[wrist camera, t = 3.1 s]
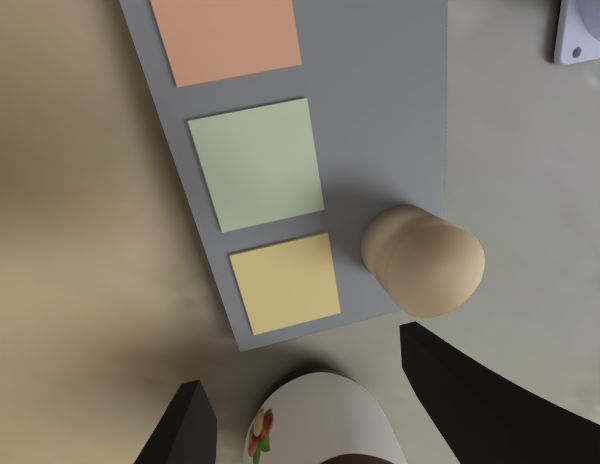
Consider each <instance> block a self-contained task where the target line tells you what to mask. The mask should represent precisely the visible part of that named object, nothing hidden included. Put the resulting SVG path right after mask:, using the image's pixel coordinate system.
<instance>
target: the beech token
mask: <svg viewBox="0 0 600 464" xmlns="http://www.w3.org/2000/svg"><path fill="white" fill-rule="evenodd" d="M360 248H361V257H362V260H363V262H364V264H365V266H366V267H367V268H368V269H369V271H370V272H371V273H372V274H373V276H374V277H375V278H376V279H377V281H378V282H379V283H380V284H381V286H382V287H383V288H384V289H385V291H386V292H387V293H388V294H389V296H390V297H391V298H392V299H393V301H394V302H395V303H396V304H397V306H398V307H399V308H400V309H401V310H402V311H404V312H405V313H407V314H409V315H411V316H415V317H420V318H430V317H436V316H440V315H443V314H445V313H448V312H450V311H452V310H454V309H455V308H457V307H458V306H460V305H461V304H462V303H463V302H465V301H466V300H467V299H468V298H469V297H470V296H471V294H472V293H473V292H474V290H475V289H476V287H477V286H478V284H479V282H480V280H481V278H482V275H483V271H484V266H485V257H484V251H483V248H482V246H481V244H480V243H479V241H478V240H477V239H476V238H475V237H474V236H473V235H471V234H470V233H468V232H466V231H464V230H462V229H460V228H458V227H456V226H454V225H453V224H451V223H449V222H447V221H445V220H443V219H441V218H439V217H437V216H435V215H433V214H431V213H429V212H427V211H425V210H423V209H421V208H419V207H417V206H413V205H398V206H394V207H391V208H388V209H386V210H384V211H383V212H381V213H380V214H378V215H377V216H376V217H375V218H374V219H373V220H372V221H371V222H370V223H369V225H368V226H367V228H366V230H365V232H364V234H363V237H362V240H361V247H360Z"/></svg>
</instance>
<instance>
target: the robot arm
mask: <svg viewBox="0 0 600 464" xmlns="http://www.w3.org/2000/svg"><path fill="white" fill-rule="evenodd" d="M573 51H574V54H573V55H572V53H573ZM598 58H600V0H562V1H561V9H560V16H559V24H558V31H557V38H556V46H555V53H554V62H555V64H556V65H558V66H562V65H567V64H572V63H577V62H583V61H588V60H593V59H598ZM400 341H401V357H402V368H403V370H404V372H405V374H406V376H407V378H408V380H409V382H410V384H411V386H412V388H413V390H414V392H415V394H416V396H417V397H418V399H419V400H420V402H421V404H422V405H423V407H424V408H425V410H426V411H427V413H428V414H429V416H430V418H431V419H432V421H433V422H434V424H435V425H436V427H437V428H438V430H439V431H440V433H441V434H442V436H443V437H444V439H445V441H446V442H447V444H448V445H449V447H450V448H451V450H452V451H453V453H454V454H455V456H456V457H457V459H458V460H459V462H460V464H600V425H599V424H597V423H594V422H592V421H590V420H588V419H585V418H583V417H581V416H579V415H576V414H574V413H572V412H570V411H568V410H566V409H563V408H561V407H559V406H557V405H555V404H553V403H551V402H549V401H547V400H545V399H543V398H541V397H539V396H537V395H535V394H533V393H531V392H529V391H527V390H525V389H523V388H522V387H520V386H518V385H516V384H514V383H512V382H511V381H509V380H507V379H505V378H504V377H502V376H500V375H498V374H497V373H495V372H493V371H491V370H490V369H488V368H486V367H485V366H483V365H481V364H480V363H478V362H477V361H475V360H473V359H472V358H470V357H469V356H467V355H465V354H464V353H462V352H461V351H459V350H458V349H456V348H455V347H453V346H452V345H450V344H449V343H447V342H446V341H444V340H443V339H441V338H440V337H438V336H437V335H435V334H434V333H432V332H431V331H429V330H428V329H426V328H425V327H423V326H422V325H420V324H419V323H417V322H416V321H415V322H411V323H407V324H404V325H400ZM216 442H217V419H216V416H215V414H214V412H213V410H212V407H211V405H210V403H209V400H208V398H207V396H206V393H205V391H204V389H203V386H202V384H201V382H200V380H195V381H192V382H188V383H184V384H181V386H180V387H179V389H178V390H177V392H176V394H175V396H174V397H173V399H172V401H171V402H170V404H169V406H168V408H167V409H166V411H165V413H164V414H163V416H162V418H161V420H160V421H159V423H158V425H157V426H156V428H155V430H154V431H153V433H152V435H151V436H150V438H149V440H148V441H147V443H146V444H145V446H144V448H143V449H142V451H141V453H140V454H139V456H138V457H137V459H136V461H135V462H134V464H215V459H216Z"/></svg>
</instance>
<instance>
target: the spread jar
mask: <svg viewBox="0 0 600 464" xmlns="http://www.w3.org/2000/svg"><path fill="white" fill-rule="evenodd" d="M242 464H407V462H406V460H405V457H404V455H403V452H402V450H401V448H400V446H399V444H398V441H397V439H396V437H395V435H394V433H393V431H392V428H391V426H390V424H389V422H388V420H387V418H386V416H385V414H384V412H383V411H382V409H381V407H380V406H379V404H378V403H377V401H376V400H375V399H374V398H373V396H372V395H371V394H370V393H369V392H368V391H367V390H366V389H365V388H364V387H362V386H361V385H360V384H359V383H357V382H356V381H355V380H353V379H351V378H350V377H348V376H346V375H343V374H341V373H339V372H336V371H332V370H328V369H322V368H311V369H304V370H300V371H297V372H294V373H291V374H289V375H287V376H285V377H284V378H282V379H281V380H279V381H278V382H277V383H275V384H274V385H273V386H272V387H271V388H270V389H269V390H268V392H267V393H266V395H265V396H264V397H263V399H262V401H261V402H260V404H259V406H258V408H257V410H256V412H255V415H254V417H253V419H252V422H251V424H250V427H249V430H248V433H247V437H246V441H245V446H244V452H243V461H242Z"/></svg>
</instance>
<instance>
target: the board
mask: <svg viewBox="0 0 600 464" xmlns="http://www.w3.org/2000/svg"><path fill="white" fill-rule="evenodd" d="M119 2H120V5H121V8H122V10H123V13H124V16H125V19H126V22H127V25H128V28H129V31H130V34H131V37H132V40H133V43H134V45H135V48H136V51H137V54H138V57H139V60H140V63H141V66H142V69H143V72H144V75H145V77H146V80H147V83H148V86H149V89H150V92H151V95H152V98H153V101H154V104H155V107H156V110H157V112H158V115H159V118H160V121H161V124H162V127H163V130H164V133H165V136H166V139H167V142H168V144H169V147H170V150H171V153H172V156H173V159H174V162H175V165H176V168H177V171H178V174H179V176H180V179H181V182H182V185H183V188H184V191H185V194H186V197H187V200H188V203H189V206H190V209H191V211H192V214H193V217H194V220H195V223H196V226H197V229H198V232H199V235H200V238H201V241H202V243H203V246H204V249H205V252H206V255H207V258H208V261H209V264H210V267H211V270H212V273H213V275H214V278H215V281H216V284H217V287H218V290H219V293H220V296H221V299H222V302H223V305H224V308H225V310H226V313H227V316H228V319H229V322H230V325H231V328H232V331H233V334H234V337H235V340H236V342H237V345H238V348H239V351H240V352H243V351H247V350H251V349H255V348H259V347H263V346H266V345H270V344H274V343H278V342H282V341H285V340H289V339H293V338H297V337H301V336H305V335H308V334H312V333H316V332H320V331H324V330H327V329H331V328H335V327H339V326H343V325H347V324H350V323H354V322H358V321H362V320H366V319H369V318H373V317H377V316H381V315H385V314H388V313H392V312H396V311H400V310H401V309H400V308H399V307H398V306H397V304H396V303H395V302H394V301H393V299H392V298H391V297H390V296H389V294H388V293H387V292H386V291H385V289H384V288H383V287H382V286H381V284H380V283H379V282H378V281H377V279H376V278H375V277H374V276H373V274H372V273H371V272H370V271H369V269H368V268H367V267H366V266H365V264H364V262H363V260H362V257H361V248H360V247H361V240H362V237H363V234H364V232H365V230H366V228H367V226H368V225H369V223H370V222H371V221H372V220H373V219H374V218H375V217H376V216H377V215H378V214H380V213H381V212H383V211H384V210H386V209H388V208H391V207H394V206H398V205H413V206H417V207H419V208H421V209H423V210H425V211H427V212H429V213H431V214H433V215H435V216H437V217H439V218H441V219H443V220H445V174H446V94H447V13H448V0H119Z"/></svg>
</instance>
